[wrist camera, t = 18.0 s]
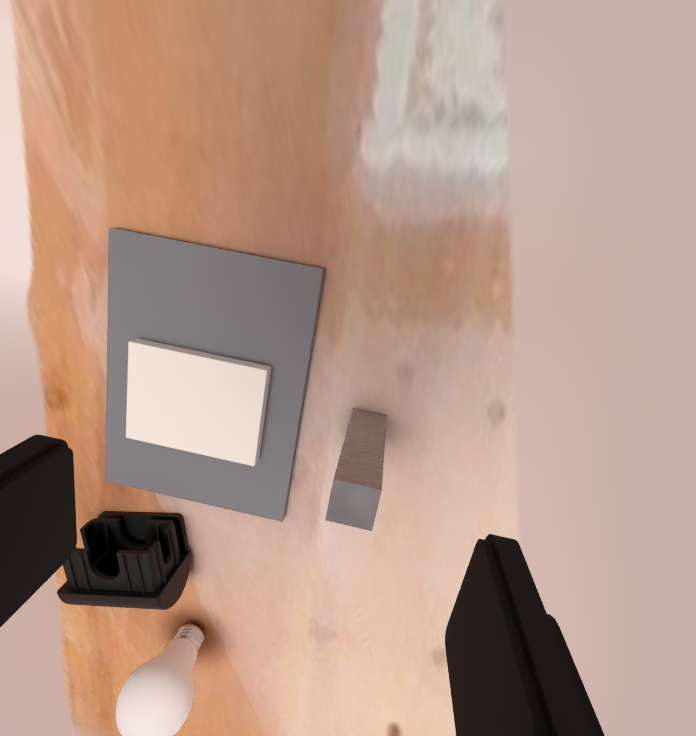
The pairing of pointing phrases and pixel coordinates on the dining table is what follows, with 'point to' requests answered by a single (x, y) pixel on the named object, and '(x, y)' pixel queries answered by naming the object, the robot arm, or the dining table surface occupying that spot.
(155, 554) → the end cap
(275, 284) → the mat
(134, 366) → the tile
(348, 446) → the metal bar
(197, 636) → the light bulb
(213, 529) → the dining table surface
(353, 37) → the dining table surface
